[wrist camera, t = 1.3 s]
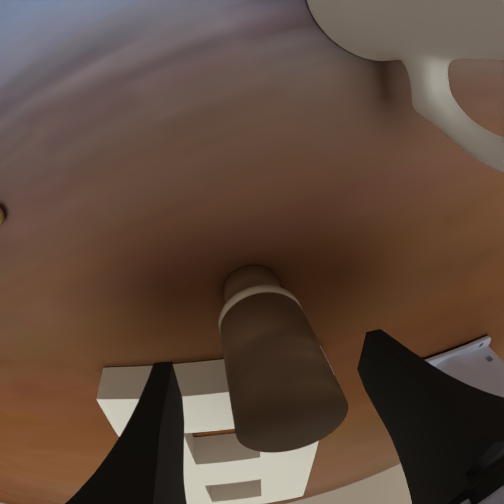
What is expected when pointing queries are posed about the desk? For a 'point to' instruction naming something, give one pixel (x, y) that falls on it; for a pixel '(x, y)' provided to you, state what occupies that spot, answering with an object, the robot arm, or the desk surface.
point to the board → (211, 438)
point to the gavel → (1, 216)
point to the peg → (275, 366)
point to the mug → (425, 53)
